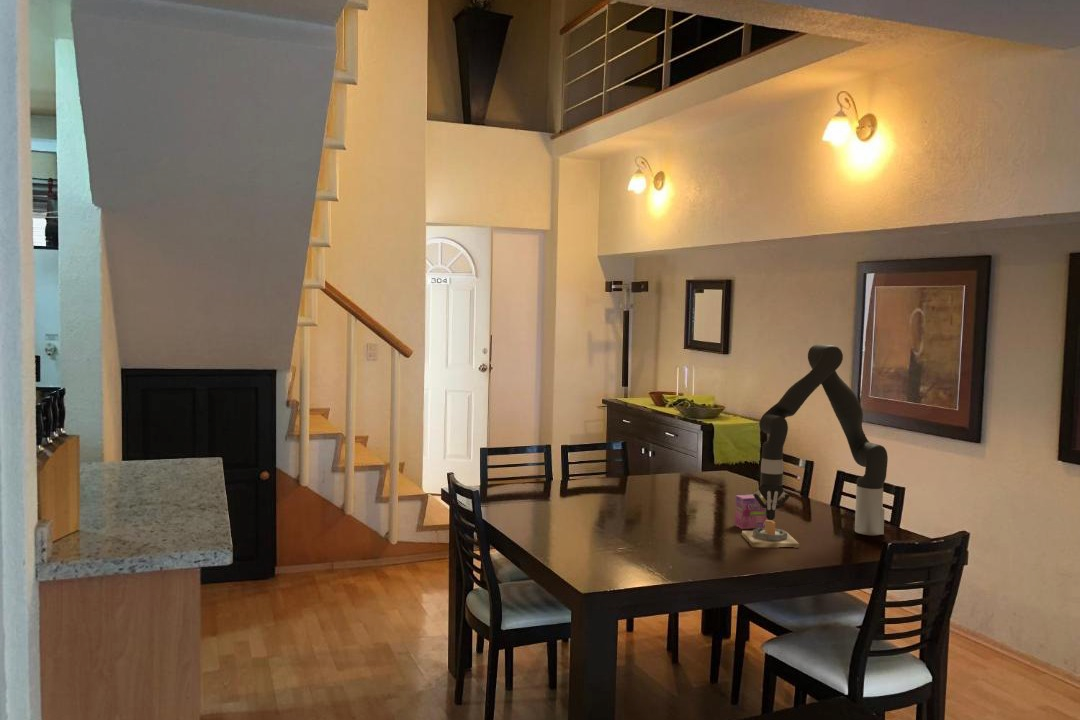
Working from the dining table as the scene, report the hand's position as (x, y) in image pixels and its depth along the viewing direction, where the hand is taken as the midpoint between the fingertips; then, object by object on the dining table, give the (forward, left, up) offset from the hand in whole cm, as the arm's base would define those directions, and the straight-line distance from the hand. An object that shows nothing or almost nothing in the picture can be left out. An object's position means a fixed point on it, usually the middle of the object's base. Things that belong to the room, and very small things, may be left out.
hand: (770, 519), depth 304 cm
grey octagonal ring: (0, 0, -6) cm, 6 cm away
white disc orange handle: (0, 0, -6) cm, 6 cm away
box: (+2, -20, -8) cm, 22 cm away
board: (0, 0, -8) cm, 8 cm away
